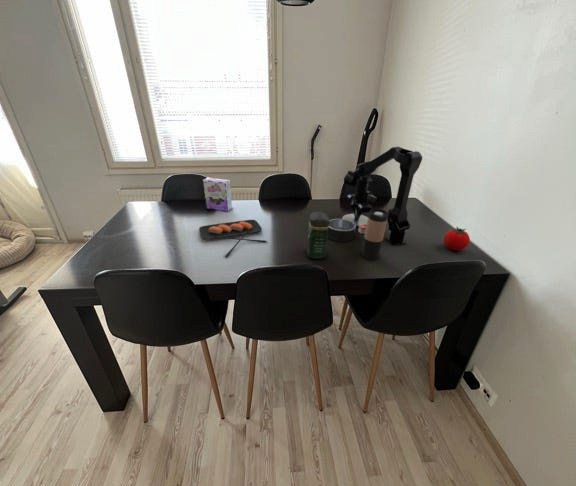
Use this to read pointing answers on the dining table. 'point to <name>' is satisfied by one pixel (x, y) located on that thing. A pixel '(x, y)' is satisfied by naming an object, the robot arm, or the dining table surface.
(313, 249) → the coffee jar
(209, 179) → the candy box
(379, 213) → the travel mug
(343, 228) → the pan
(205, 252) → the dining table surface
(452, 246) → the tomato
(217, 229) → the sushi plate
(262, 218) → the dining table surface
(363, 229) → the sushi
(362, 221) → the pan lid
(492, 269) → the dining table surface
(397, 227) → the robot arm
